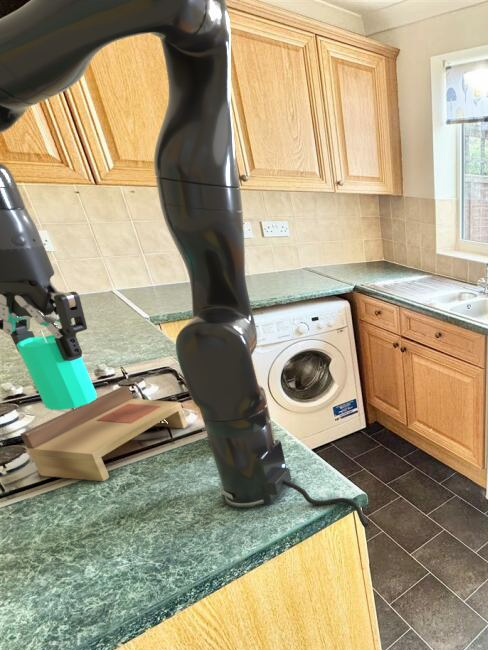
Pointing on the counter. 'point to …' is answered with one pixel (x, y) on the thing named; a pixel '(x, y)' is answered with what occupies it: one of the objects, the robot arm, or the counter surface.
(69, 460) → the shelf
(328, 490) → the counter surface
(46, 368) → the candle
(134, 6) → the robot arm
